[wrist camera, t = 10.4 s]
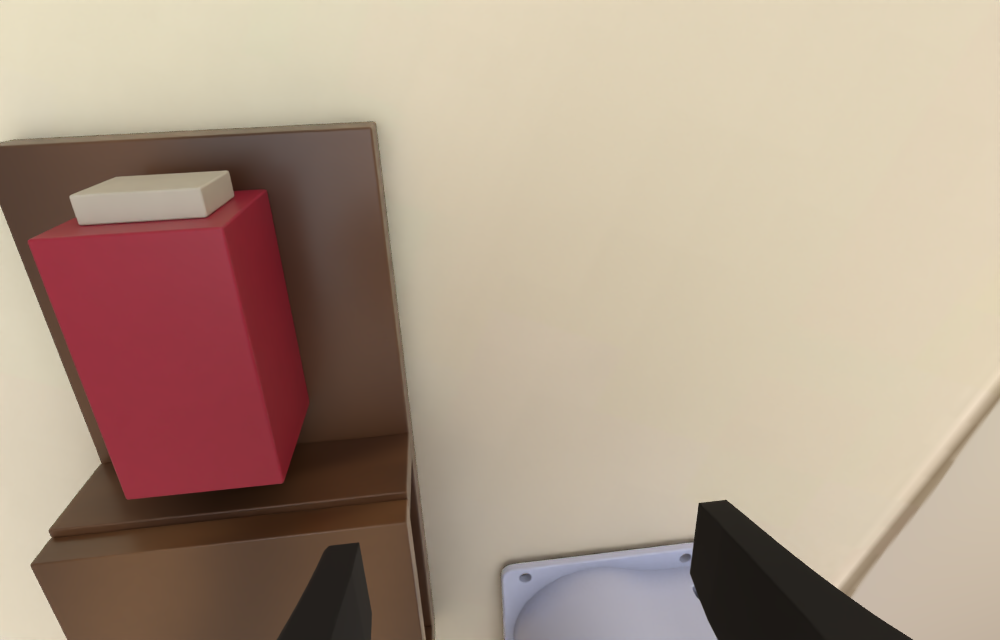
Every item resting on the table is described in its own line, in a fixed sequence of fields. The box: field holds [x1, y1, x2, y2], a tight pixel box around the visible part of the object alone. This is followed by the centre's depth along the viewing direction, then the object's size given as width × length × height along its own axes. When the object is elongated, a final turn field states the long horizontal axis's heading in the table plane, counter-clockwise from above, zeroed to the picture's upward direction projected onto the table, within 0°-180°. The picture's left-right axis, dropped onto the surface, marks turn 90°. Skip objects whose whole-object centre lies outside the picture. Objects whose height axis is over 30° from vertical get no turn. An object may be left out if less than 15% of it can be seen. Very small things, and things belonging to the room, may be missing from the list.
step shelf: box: [0, 122, 435, 640], centre depth 19 cm, size 10×21×6 cm, turn 2°
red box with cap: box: [28, 171, 310, 500], centre depth 16 cm, size 4×8×4 cm, turn 2°
